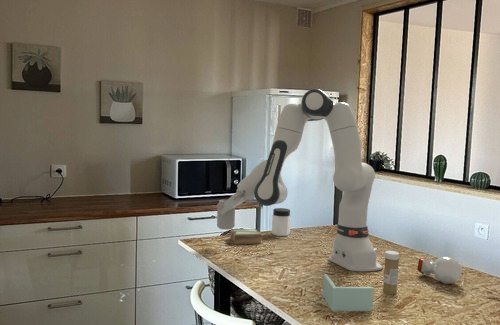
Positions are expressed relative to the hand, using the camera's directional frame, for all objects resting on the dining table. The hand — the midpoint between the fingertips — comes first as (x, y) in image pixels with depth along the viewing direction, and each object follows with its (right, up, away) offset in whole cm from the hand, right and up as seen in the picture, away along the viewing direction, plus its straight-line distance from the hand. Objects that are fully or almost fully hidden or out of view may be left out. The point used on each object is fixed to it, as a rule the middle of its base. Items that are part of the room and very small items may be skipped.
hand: (224, 211), depth 199 cm
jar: (+26, -14, +28) cm, 41 cm away
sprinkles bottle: (+57, -22, -46) cm, 76 cm away
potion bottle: (+78, -21, -33) cm, 87 cm away
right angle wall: (+40, -23, -56) cm, 73 cm away
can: (0, -7, 0) cm, 7 cm away
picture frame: (+9, -15, +13) cm, 21 cm away
